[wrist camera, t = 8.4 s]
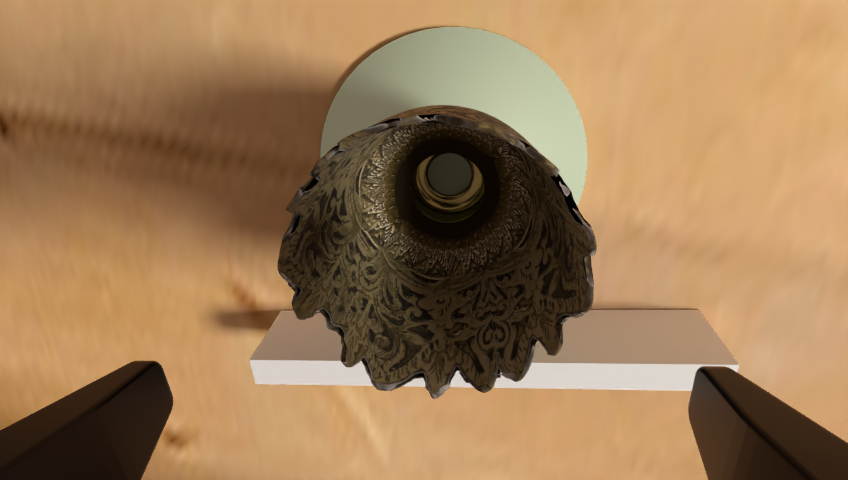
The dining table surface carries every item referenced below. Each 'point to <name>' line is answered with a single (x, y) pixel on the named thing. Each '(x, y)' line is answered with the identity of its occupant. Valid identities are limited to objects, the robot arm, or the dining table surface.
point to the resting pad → (464, 97)
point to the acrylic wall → (570, 369)
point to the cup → (438, 251)
